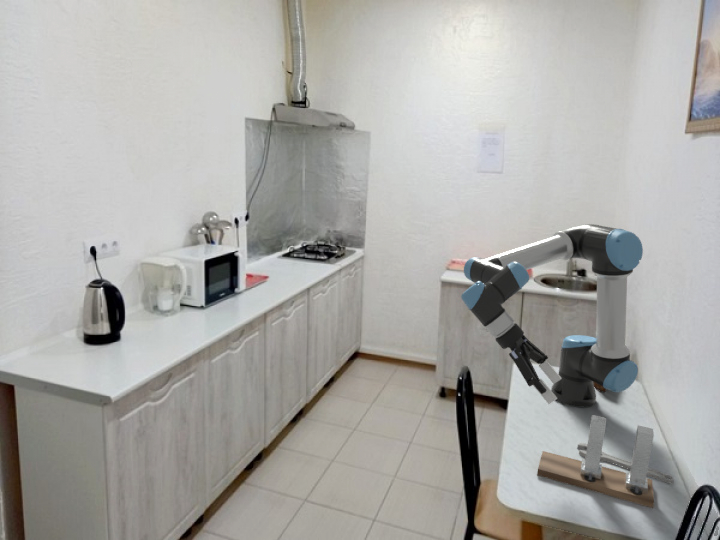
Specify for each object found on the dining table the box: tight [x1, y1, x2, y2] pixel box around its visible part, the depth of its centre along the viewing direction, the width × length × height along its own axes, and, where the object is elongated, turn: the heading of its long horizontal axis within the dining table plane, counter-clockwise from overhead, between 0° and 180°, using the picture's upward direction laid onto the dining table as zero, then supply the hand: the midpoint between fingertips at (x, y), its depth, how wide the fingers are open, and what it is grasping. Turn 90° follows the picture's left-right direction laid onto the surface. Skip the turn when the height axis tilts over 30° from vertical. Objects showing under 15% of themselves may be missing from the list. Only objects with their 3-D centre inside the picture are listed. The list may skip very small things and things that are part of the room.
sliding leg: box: [580, 414, 607, 480], centre depth 140 cm, size 7×5×16 cm
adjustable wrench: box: [577, 442, 675, 484], centre depth 150 cm, size 25×6×2 cm, turn 50°
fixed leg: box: [625, 424, 655, 493], centre depth 136 cm, size 7×5×16 cm
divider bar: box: [536, 450, 655, 509], centre depth 143 cm, size 10×28×2 cm, turn 64°
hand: (555, 390), depth 146 cm, fingers open, 13 cm apart
